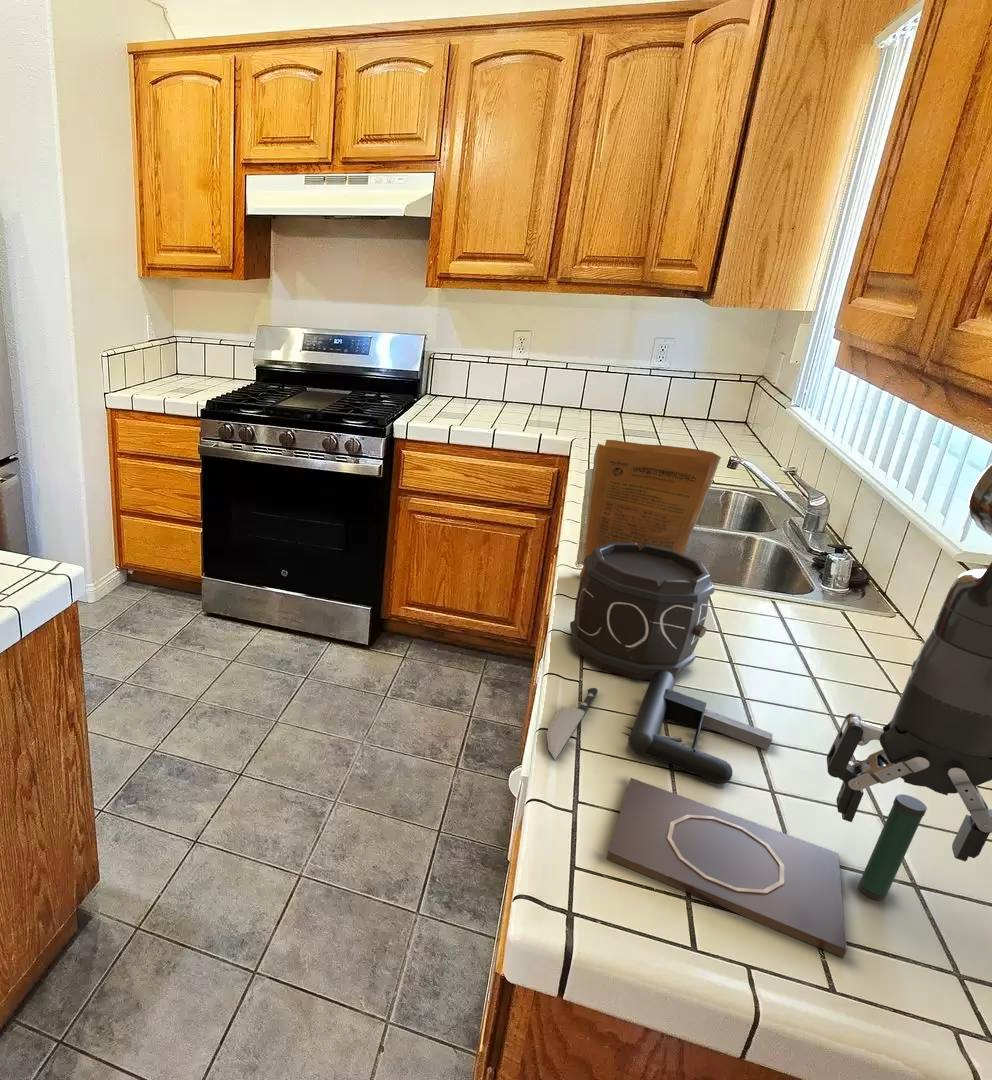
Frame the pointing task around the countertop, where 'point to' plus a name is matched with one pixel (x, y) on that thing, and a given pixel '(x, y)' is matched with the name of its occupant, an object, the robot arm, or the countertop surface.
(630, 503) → the pancake mix bag
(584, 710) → the chef's knife
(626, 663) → the coffee canister
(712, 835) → the drawing board
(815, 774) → the countertop surface
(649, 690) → the door handle
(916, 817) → the marker
